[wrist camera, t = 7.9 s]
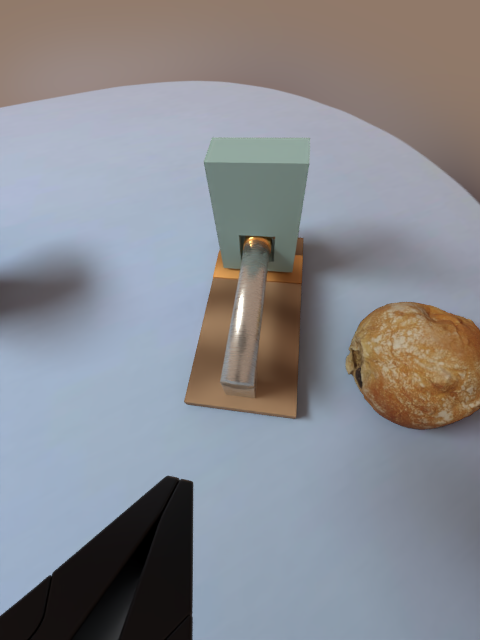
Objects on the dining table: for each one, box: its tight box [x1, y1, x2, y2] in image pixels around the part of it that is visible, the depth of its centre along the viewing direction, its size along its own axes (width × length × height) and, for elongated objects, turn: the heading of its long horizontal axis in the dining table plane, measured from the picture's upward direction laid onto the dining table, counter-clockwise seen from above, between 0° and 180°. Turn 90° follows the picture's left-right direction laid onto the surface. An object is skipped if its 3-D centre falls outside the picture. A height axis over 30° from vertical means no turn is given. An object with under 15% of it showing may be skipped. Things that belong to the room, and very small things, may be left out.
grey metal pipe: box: [220, 235, 273, 398], centre depth 24 cm, size 18×3×5 cm, turn 172°
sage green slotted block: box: [204, 138, 310, 272], centre depth 23 cm, size 3×7×11 cm, turn 82°
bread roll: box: [346, 302, 480, 430], centre depth 21 cm, size 10×10×8 cm
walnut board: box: [184, 237, 303, 419], centre depth 26 cm, size 19×9×1 cm, turn 172°
